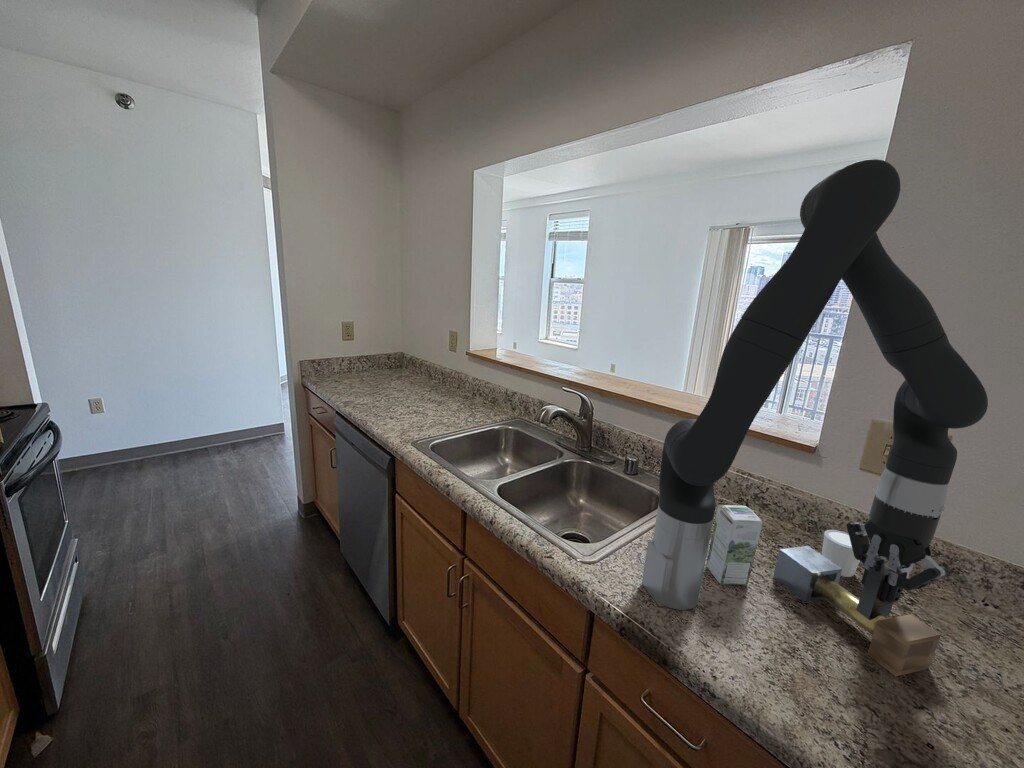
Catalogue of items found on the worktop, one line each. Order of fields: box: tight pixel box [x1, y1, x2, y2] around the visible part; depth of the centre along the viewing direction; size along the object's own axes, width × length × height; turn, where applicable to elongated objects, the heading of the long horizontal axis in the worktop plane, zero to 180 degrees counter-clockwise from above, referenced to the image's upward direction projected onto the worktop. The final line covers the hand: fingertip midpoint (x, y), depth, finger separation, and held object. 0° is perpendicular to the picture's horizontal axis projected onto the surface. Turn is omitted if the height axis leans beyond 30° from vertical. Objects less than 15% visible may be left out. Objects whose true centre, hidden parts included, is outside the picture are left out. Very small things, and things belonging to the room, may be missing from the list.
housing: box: [773, 545, 842, 604], centre depth 79 cm, size 7×7×6 cm
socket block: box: [866, 614, 942, 677], centre depth 64 cm, size 4×7×6 cm, turn 104°
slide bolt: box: [814, 563, 894, 636], centre depth 69 cm, size 13×4×12 cm, turn 14°
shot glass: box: [821, 529, 861, 578], centre depth 86 cm, size 7×7×7 cm
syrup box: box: [705, 504, 764, 586], centre depth 80 cm, size 6×6×14 cm
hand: (878, 595), depth 67 cm, fingers closed on slide bolt, 2 cm apart
